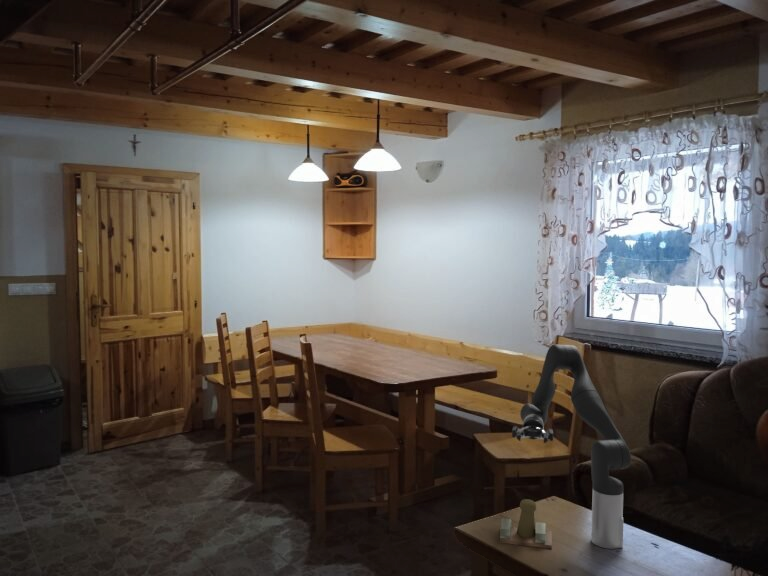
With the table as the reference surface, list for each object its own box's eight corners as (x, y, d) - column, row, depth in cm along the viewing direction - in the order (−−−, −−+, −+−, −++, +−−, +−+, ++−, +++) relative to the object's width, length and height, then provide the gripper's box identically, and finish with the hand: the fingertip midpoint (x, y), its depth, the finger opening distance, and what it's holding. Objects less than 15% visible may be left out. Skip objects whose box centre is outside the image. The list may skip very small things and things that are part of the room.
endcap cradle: (551, 534, 204) (551, 522, 204) (551, 548, 194) (551, 536, 194) (502, 528, 208) (502, 517, 208) (499, 542, 198) (500, 530, 198)
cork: (536, 538, 199) (538, 505, 198) (517, 536, 199) (519, 503, 198) (534, 530, 205) (537, 498, 204) (516, 527, 205) (518, 496, 204)
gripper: (513, 414, 232) (511, 426, 216) (553, 417, 228) (553, 430, 212) (513, 434, 232) (511, 448, 216) (552, 437, 229) (553, 451, 213)
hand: (532, 439), depth 214 cm, fingers open, 8 cm apart
